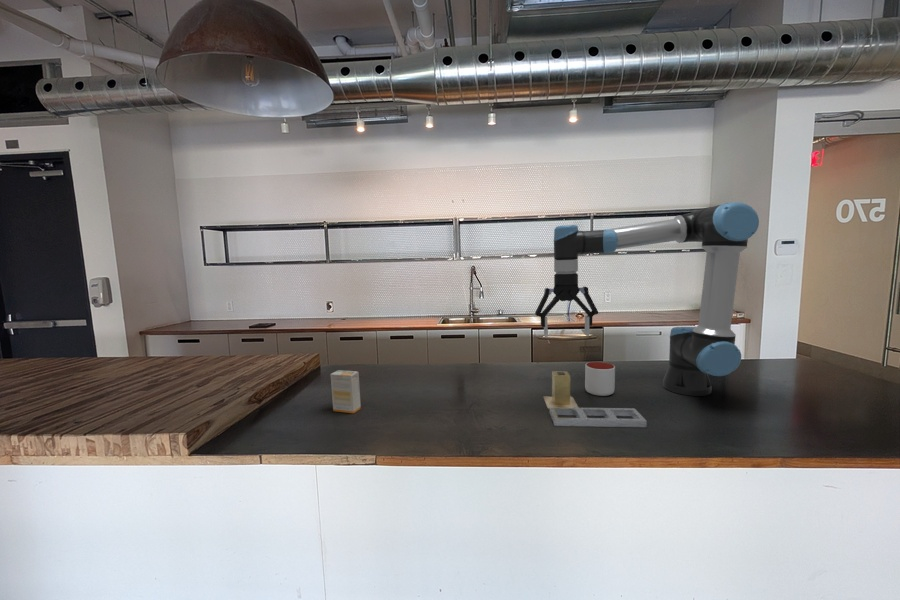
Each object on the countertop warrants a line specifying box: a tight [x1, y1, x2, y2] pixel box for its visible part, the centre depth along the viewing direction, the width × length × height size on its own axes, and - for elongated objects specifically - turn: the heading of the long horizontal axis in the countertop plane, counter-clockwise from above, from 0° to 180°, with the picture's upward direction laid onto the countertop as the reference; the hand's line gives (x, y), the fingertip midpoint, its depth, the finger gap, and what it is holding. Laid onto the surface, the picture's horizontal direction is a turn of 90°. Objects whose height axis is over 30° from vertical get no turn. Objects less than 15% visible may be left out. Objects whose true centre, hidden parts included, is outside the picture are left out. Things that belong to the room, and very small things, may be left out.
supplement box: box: [330, 369, 362, 414], centre depth 127 cm, size 8×5×13 cm, turn 71°
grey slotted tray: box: [549, 407, 648, 428], centre depth 115 cm, size 26×9×2 cm, turn 85°
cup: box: [584, 361, 616, 397], centre depth 138 cm, size 10×10×10 cm
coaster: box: [542, 396, 580, 410], centre depth 129 cm, size 10×10×1 cm
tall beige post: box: [551, 370, 571, 405], centre depth 128 cm, size 5×5×10 cm
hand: (566, 335), depth 128 cm, fingers open, 13 cm apart
